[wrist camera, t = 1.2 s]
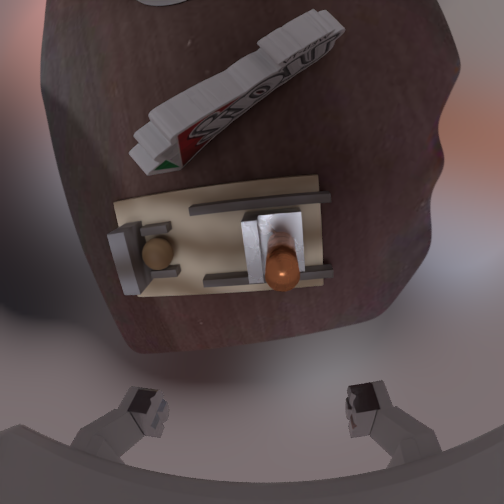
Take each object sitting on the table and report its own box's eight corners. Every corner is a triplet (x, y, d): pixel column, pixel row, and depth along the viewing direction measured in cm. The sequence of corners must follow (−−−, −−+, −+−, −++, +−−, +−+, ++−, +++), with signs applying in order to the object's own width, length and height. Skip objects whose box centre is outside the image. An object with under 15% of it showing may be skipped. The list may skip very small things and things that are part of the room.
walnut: (146, 235, 36) (133, 245, 32) (174, 231, 35) (163, 242, 31) (153, 263, 37) (141, 276, 33) (180, 261, 37) (170, 274, 33)
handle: (245, 212, 33) (232, 241, 24) (299, 207, 33) (309, 234, 23) (252, 267, 36) (243, 313, 26) (303, 263, 35) (312, 308, 25)
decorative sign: (309, 45, 29) (341, -15, 14) (323, 60, 29) (363, 7, 15) (165, 155, 33) (109, 153, 19) (179, 171, 34) (130, 178, 19)
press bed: (117, 200, 35) (93, 211, 30) (324, 173, 32) (335, 179, 27) (141, 292, 40) (123, 315, 35) (329, 280, 37) (338, 304, 31)
